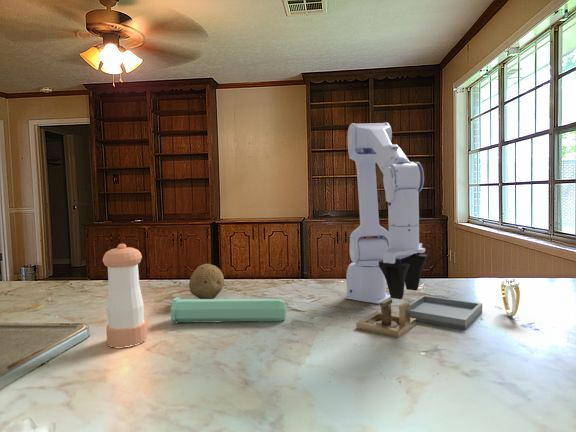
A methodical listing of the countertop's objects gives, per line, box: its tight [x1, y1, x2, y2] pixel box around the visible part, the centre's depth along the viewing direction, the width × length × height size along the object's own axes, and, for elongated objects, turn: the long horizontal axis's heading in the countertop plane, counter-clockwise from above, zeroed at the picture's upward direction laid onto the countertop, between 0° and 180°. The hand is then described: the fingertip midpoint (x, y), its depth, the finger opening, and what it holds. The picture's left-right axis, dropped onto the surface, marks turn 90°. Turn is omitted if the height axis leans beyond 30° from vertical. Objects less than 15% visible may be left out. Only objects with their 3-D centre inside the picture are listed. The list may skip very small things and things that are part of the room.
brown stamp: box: [375, 298, 399, 328], centre depth 83 cm, size 4×4×5 cm
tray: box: [409, 295, 483, 331], centre depth 89 cm, size 13×13×2 cm
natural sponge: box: [188, 263, 225, 299], centre depth 105 cm, size 9×9×10 cm
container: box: [170, 296, 288, 324], centre depth 90 cm, size 6×6×25 cm
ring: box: [500, 278, 521, 317], centre depth 87 cm, size 7×3×8 cm, turn 165°
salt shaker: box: [102, 243, 148, 347], centre depth 79 cm, size 7×7×19 cm
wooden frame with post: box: [355, 302, 417, 338], centre depth 83 cm, size 9×9×5 cm
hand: (404, 293), depth 80 cm, fingers open, 7 cm apart
